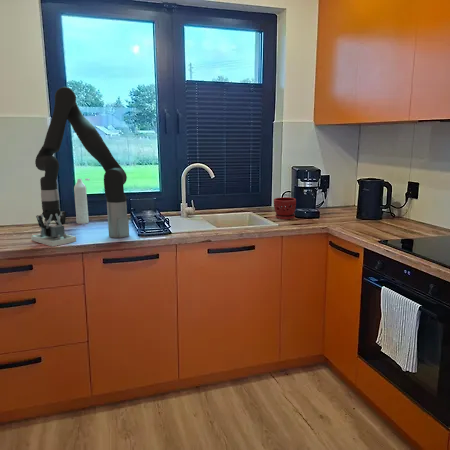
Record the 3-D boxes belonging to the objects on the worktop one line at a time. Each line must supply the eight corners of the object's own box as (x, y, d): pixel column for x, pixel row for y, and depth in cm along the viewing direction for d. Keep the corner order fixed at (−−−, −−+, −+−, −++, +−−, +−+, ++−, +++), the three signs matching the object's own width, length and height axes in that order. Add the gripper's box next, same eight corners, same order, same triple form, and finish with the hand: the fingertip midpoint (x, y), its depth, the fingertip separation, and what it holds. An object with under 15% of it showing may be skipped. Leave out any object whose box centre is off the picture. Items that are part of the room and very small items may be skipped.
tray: (76, 241, 194) (75, 232, 193) (52, 246, 185) (51, 237, 184) (55, 235, 205) (54, 227, 204) (31, 240, 196) (30, 231, 195)
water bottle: (75, 224, 231) (72, 179, 226) (77, 221, 237) (74, 178, 232) (92, 223, 233) (89, 179, 227) (93, 221, 239) (90, 177, 233)
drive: (64, 236, 194) (64, 225, 193) (55, 238, 190) (54, 227, 189) (51, 233, 199) (50, 223, 198) (42, 235, 195) (41, 225, 194)
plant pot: (282, 215, 257) (283, 196, 255) (299, 218, 248) (300, 198, 245) (268, 218, 249) (269, 198, 246) (285, 221, 239) (286, 201, 237)
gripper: (59, 196, 199) (62, 231, 202) (30, 200, 188) (34, 236, 191) (68, 198, 194) (71, 233, 198) (39, 202, 183) (43, 239, 187)
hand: (53, 234), depth 194 cm, fingers closed on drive, 5 cm apart
